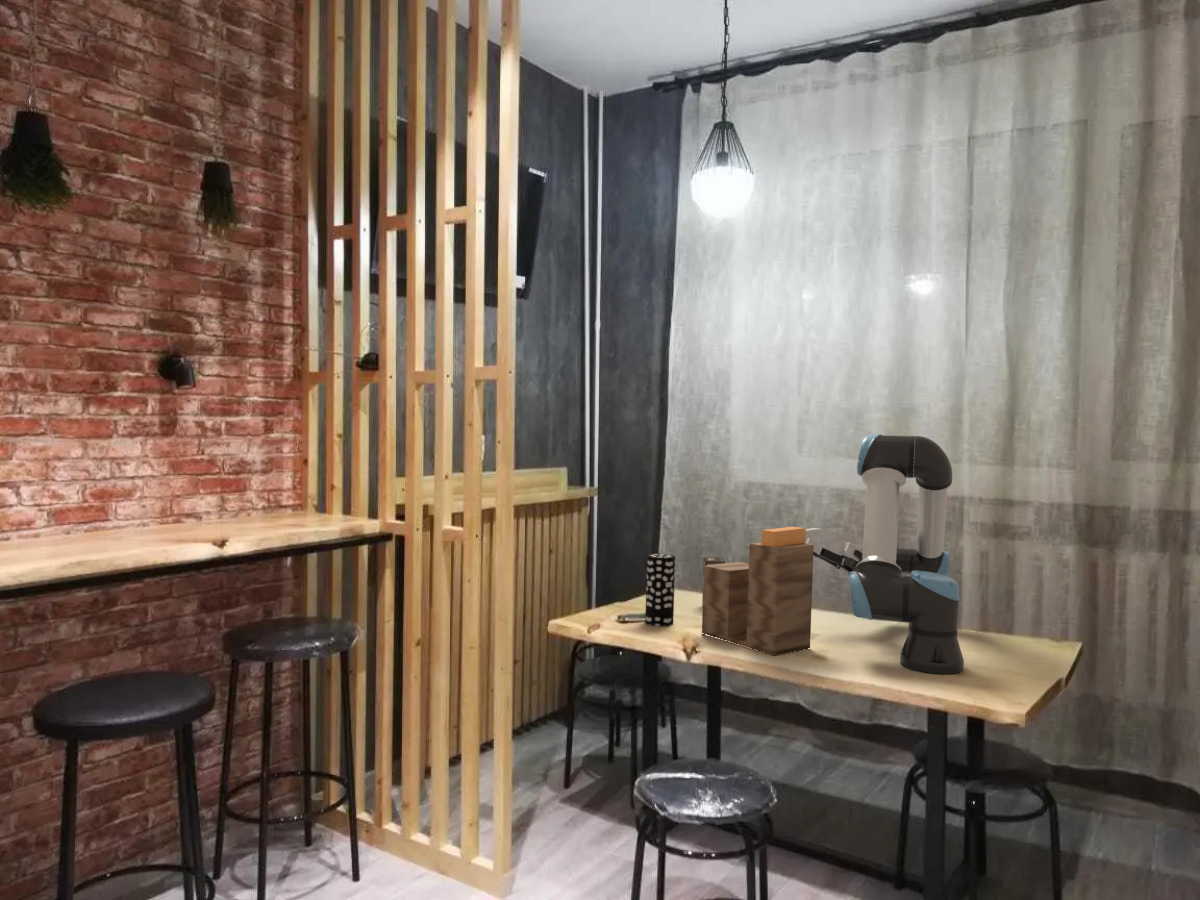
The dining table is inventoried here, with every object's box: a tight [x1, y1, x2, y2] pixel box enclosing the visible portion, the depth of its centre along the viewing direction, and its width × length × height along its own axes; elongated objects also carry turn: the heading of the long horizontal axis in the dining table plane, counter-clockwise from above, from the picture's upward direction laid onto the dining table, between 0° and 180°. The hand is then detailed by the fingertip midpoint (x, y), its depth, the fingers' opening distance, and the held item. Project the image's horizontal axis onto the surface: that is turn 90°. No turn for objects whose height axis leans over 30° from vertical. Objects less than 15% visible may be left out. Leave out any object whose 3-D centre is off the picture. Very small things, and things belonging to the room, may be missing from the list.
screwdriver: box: [761, 526, 823, 547], centre depth 248 cm, size 24×4×4 cm, turn 133°
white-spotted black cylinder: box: [644, 553, 676, 627], centre depth 271 cm, size 8×8×20 cm
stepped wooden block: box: [701, 541, 814, 657], centre depth 252 cm, size 27×14×28 cm, turn 38°
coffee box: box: [701, 556, 726, 607], centre depth 293 cm, size 9×6×16 cm
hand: (826, 543), depth 257 cm, fingers open, 13 cm apart
